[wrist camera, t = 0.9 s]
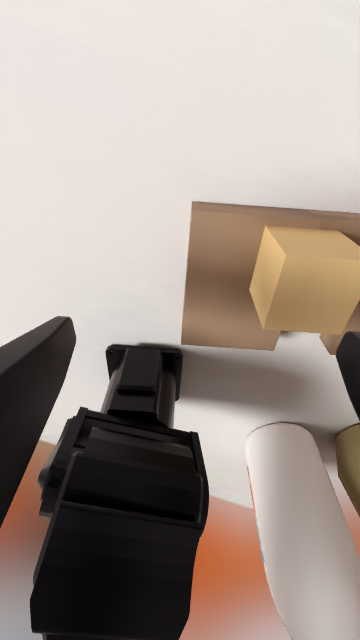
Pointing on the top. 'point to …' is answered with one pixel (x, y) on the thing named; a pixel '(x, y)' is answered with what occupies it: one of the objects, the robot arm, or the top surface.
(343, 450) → the squeeze bottle
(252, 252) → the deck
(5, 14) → the top surface
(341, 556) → the milk bottle
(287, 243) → the block
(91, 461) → the robot arm
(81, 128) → the top surface
